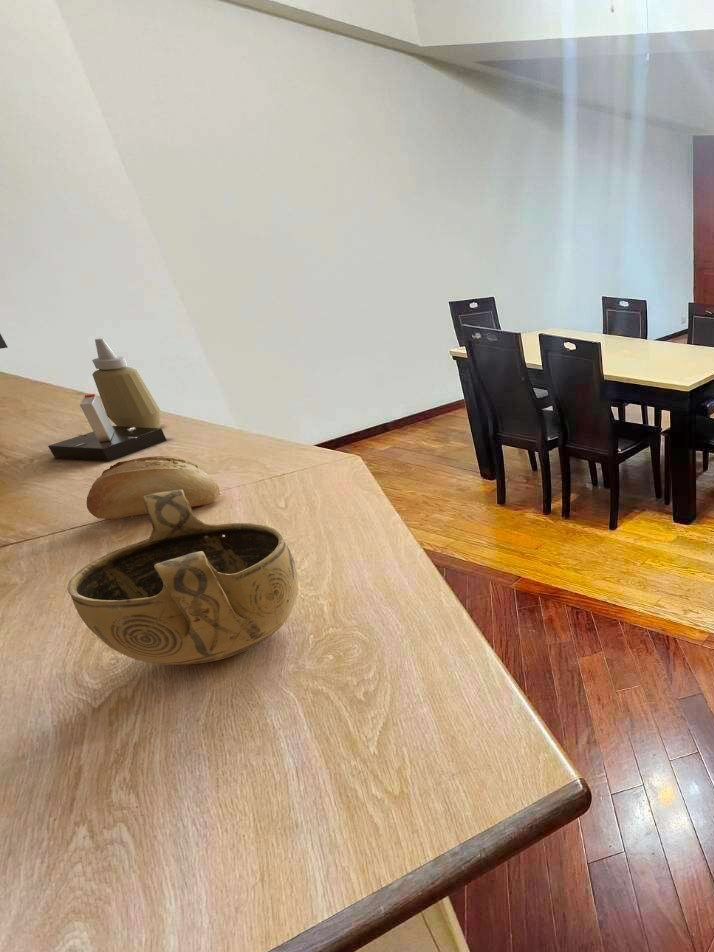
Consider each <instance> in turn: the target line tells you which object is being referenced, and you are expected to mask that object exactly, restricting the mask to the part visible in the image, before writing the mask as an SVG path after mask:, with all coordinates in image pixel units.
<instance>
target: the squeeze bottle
mask: <svg viewBox="0 0 714 952" xmlns="http://www.w3.org/2000/svg"><path fill="white" fill-rule="evenodd" d="M94 343H95V347H96V352H97V358H93V359H91V362H92V363H93V366H94V367H95V369H96V370H94V371H93V373H92V374H91V375H92V378H93V380H94V384H95V386H96V389H97V391H98V395H99V397H100V401H101V404H102V407H103V409H104V411H105V413H106V415H107V417H108V419H109V421H110V422H111V423H113V424H114V426H125V427H145V428H161V426H162V425H161V409H160V407H159V405H158V404H157V402H156V400H155V398H154V397H153V395H152V394H151V392H150V390H149V388H148V387H147V385H146V383H145V381H144V380H143V379H142V377H141V375H140V373H139V372H138V370H137V369H135V368H133V367H129V365H128V362H127V359H126V357H125V356H119V355H118V356H117V355H116V354H115V352H114V351H113V350H112V348H111V347H110V346H109V344H108V343H107V342H106V340H105V339H104V338H95V339H94Z"/></svg>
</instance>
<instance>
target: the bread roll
mask: <svg viewBox="0 0 714 952" xmlns="http://www.w3.org/2000/svg"><path fill="white" fill-rule="evenodd" d="M173 490H183V491H184V494H185V496H186V498H187V500H188V501H189V504H190V506H191V508H194V507H200V506H204V505H209V504H211V503H213V502H214V501H216V500H217V499H218V497H219V496H220V495H221V493H220V492H221V489H220V487H219V485H218V483H217V481H216V480H214V479H213V477H212V476H211V475H209V474H208V473H206V472H205V471H204V470H203V469H202V468H200V467H199V466H198V464H196V463H193V462H190V461H188V460H186V459H183V458H180V457H176V456H167V455H165V456H164V455H157V456H154V455H153V456H144V457H139V458H132V459H129V460H122V461H117V462H116V463H115V464H113V465H110V466H109V467H108V468H106V469H105V470H103V471H102V473H101V475H100V476H99V477H98V478H96V480H94V482H93V483H92V484H91V487H90V489H89V491H88V494H87V495H86V508H87V510H88V512H89V513H90V514H91V515H92V516H93V517H95V518H97V519H99V520H100V519H101V520H113V519H120V518H127V517H132V516H134V517H135V516H140V515H141V516H142V515H146V514H147V515H148V512H147V510H146V507H145V504H144V501H143V499H142V498H143V497H144V496H147V495H150V494H154V493H160V492H167V491H173Z"/></svg>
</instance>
